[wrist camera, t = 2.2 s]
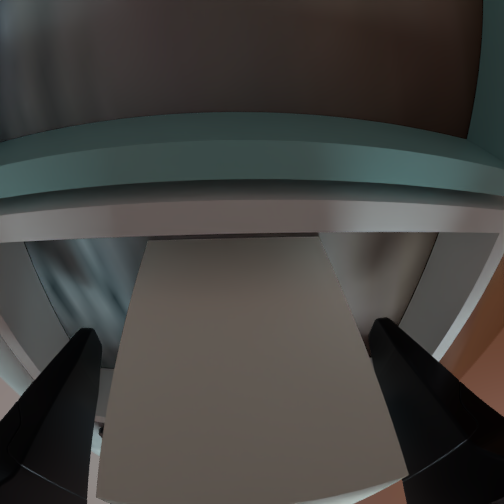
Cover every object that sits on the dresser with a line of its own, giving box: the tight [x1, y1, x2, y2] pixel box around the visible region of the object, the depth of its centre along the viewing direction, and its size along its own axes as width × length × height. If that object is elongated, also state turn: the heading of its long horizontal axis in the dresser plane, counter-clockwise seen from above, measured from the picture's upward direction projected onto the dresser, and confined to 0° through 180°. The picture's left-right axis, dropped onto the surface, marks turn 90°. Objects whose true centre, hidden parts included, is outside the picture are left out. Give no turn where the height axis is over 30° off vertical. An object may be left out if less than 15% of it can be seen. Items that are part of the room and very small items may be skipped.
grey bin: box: [0, 179, 504, 423], centre depth 9 cm, size 10×15×2 cm, turn 88°
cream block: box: [96, 237, 409, 504], centre depth 8 cm, size 5×5×7 cm
